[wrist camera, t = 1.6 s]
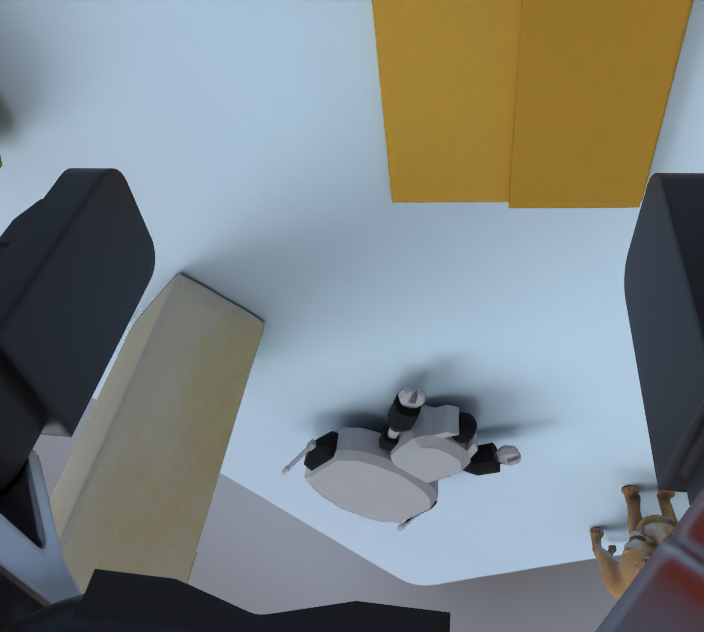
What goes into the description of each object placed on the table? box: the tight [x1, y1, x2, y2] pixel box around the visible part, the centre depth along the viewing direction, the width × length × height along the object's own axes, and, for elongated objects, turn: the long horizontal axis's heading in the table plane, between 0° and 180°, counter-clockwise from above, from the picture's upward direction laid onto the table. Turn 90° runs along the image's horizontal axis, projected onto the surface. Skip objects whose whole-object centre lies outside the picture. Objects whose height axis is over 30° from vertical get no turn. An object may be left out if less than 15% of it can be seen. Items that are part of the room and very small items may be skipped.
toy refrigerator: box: [49, 274, 264, 594], centre depth 37 cm, size 8×7×21 cm
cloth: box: [372, 0, 693, 208], centre depth 28 cm, size 12×12×1 cm
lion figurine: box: [590, 486, 678, 600], centre depth 51 cm, size 15×5×9 cm, turn 6°
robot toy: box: [281, 386, 521, 531], centre depth 49 cm, size 12×4×15 cm
